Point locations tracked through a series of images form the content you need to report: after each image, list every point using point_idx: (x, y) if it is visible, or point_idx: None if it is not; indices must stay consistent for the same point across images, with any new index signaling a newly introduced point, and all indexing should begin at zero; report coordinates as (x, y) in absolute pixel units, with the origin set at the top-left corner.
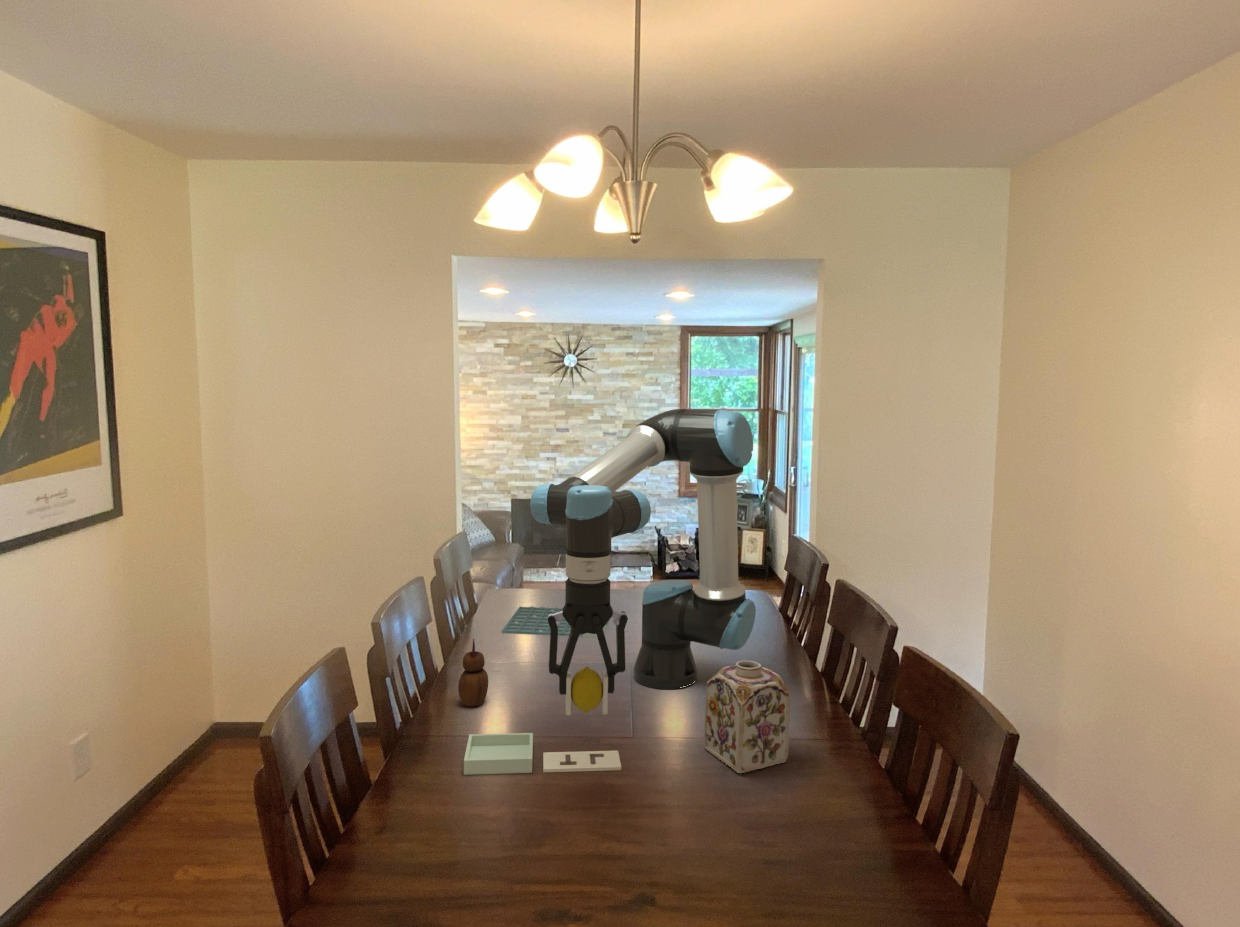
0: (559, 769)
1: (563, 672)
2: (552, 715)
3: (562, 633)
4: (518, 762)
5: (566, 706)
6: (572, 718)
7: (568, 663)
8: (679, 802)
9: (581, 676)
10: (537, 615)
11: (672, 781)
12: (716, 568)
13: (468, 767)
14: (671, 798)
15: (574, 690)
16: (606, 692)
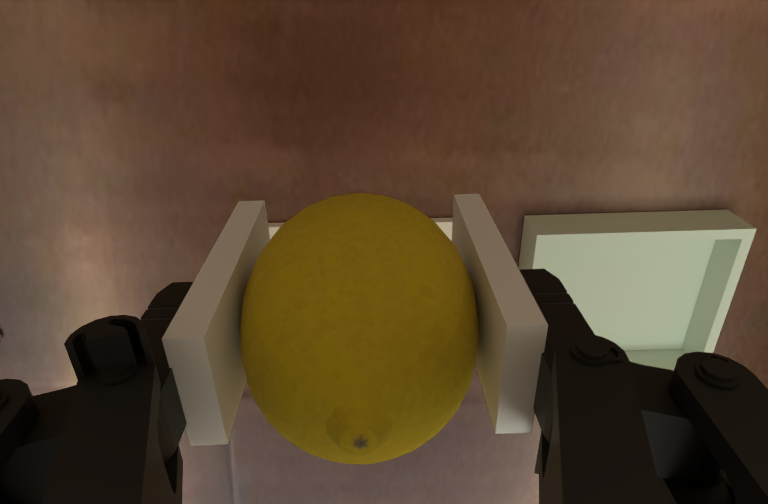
0: (442, 220)
1: (594, 362)
2: (443, 491)
3: None
4: (577, 228)
5: (488, 215)
6: (391, 478)
7: (577, 437)
8: (35, 11)
9: (410, 340)
10: None
11: (78, 152)
12: None
13: (727, 218)
14: (67, 40)
15: (456, 264)
16: (212, 265)
